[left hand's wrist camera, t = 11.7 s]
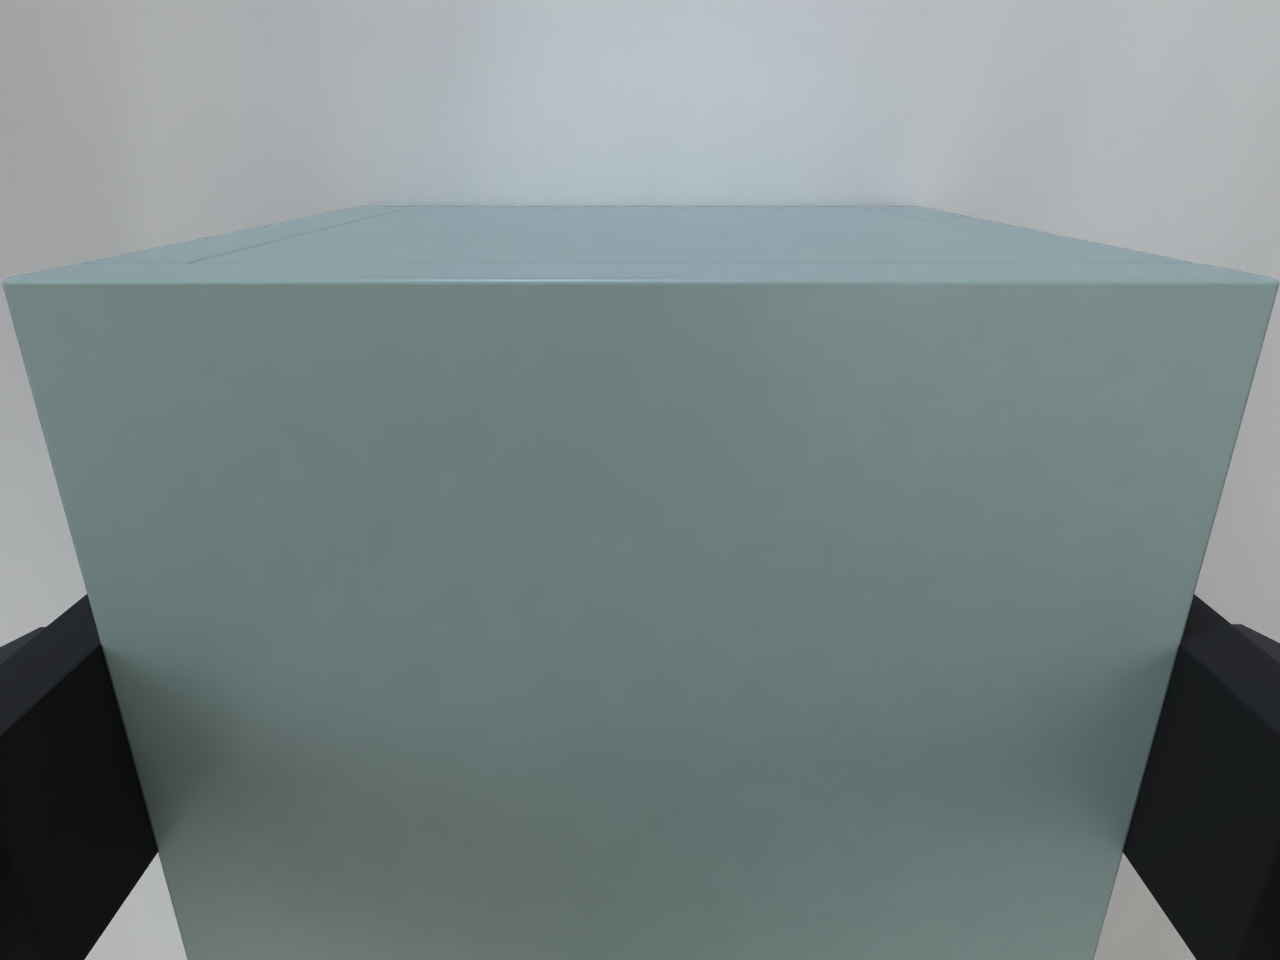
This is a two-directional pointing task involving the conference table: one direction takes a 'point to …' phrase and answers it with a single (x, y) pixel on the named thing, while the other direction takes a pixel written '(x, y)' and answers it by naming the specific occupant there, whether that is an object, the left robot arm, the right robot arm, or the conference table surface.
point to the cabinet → (640, 571)
